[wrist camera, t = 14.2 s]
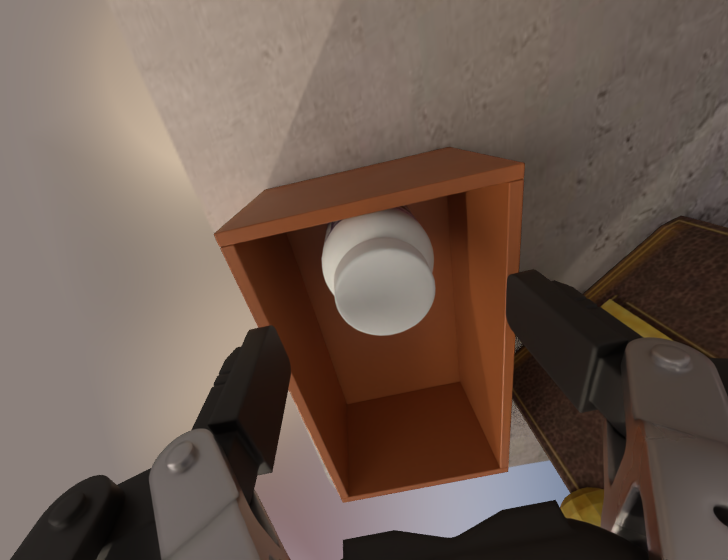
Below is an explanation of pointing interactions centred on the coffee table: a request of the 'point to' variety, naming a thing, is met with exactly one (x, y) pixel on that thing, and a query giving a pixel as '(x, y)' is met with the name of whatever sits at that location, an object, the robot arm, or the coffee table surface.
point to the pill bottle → (380, 270)
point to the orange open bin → (401, 350)
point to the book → (649, 319)
